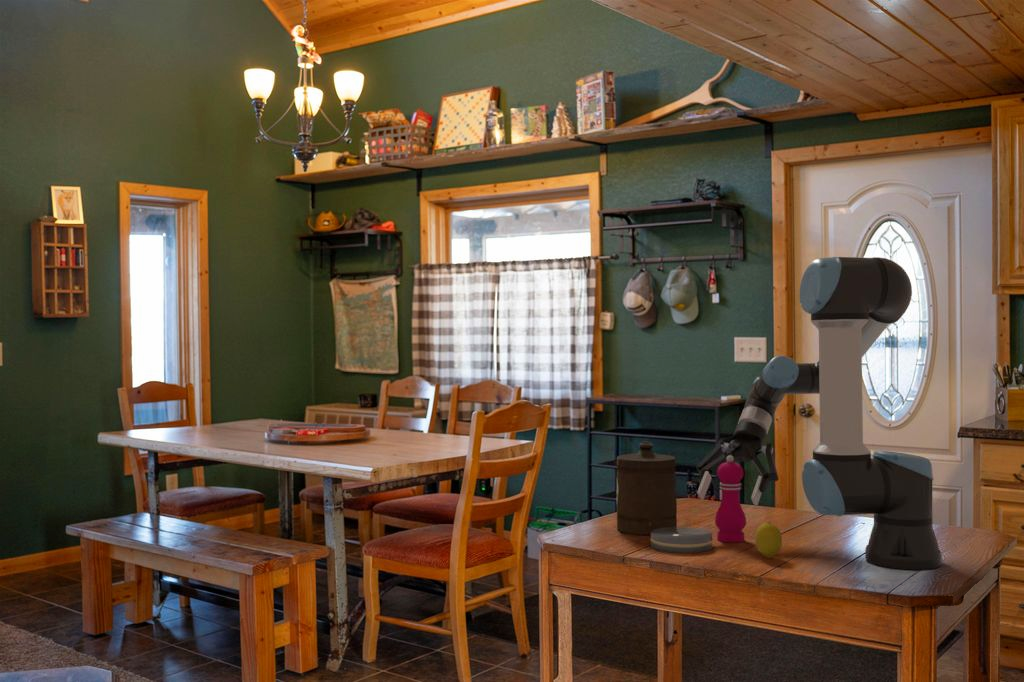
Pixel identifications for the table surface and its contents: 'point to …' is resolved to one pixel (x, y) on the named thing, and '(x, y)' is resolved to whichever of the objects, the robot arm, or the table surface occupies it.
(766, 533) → the lemon
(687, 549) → the grey flat disc
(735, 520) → the pepper mill
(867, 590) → the table surface
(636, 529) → the wooden container
